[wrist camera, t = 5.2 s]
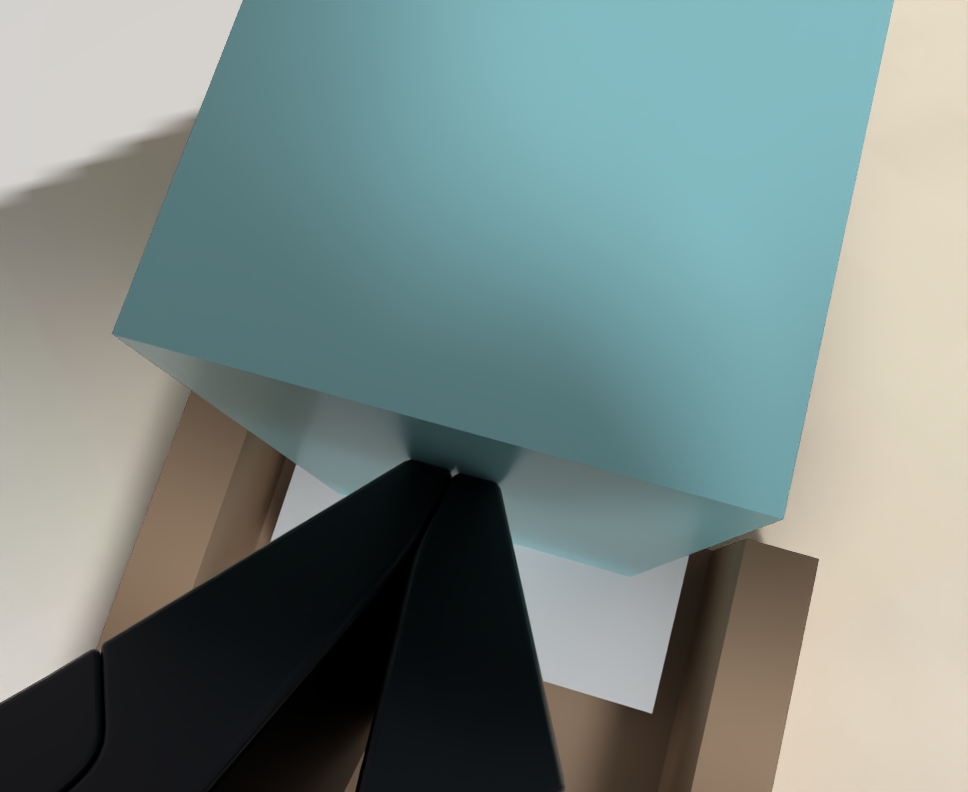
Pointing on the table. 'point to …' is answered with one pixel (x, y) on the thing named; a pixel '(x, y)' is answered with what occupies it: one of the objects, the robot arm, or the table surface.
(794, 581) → the track
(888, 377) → the table surface
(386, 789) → the robot arm
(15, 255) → the table surface
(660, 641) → the blue pillar on plinth
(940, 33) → the table surface
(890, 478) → the table surface
